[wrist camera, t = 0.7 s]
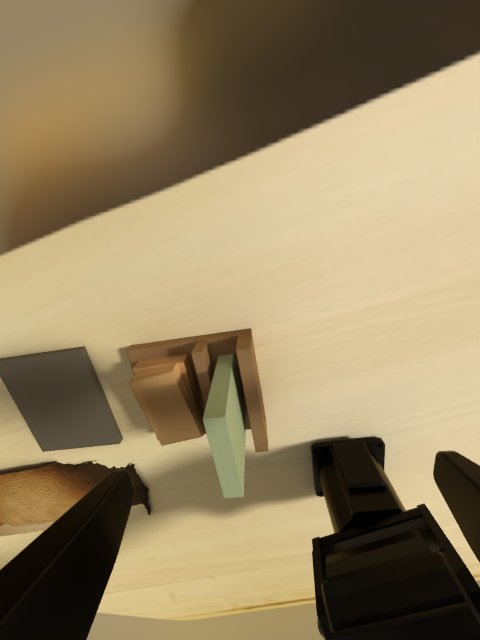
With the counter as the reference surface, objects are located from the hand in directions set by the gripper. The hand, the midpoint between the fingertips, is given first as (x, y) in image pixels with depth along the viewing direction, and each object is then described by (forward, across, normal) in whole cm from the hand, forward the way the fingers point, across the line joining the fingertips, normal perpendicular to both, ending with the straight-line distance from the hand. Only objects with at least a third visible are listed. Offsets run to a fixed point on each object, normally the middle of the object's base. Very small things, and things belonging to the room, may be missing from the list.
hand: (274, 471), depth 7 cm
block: (+12, +3, +5) cm, 13 cm away
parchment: (+14, +26, +18) cm, 35 cm away
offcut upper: (+11, +8, +5) cm, 14 cm away
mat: (+13, +19, +6) cm, 23 cm away
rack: (+13, +6, +5) cm, 15 cm away
